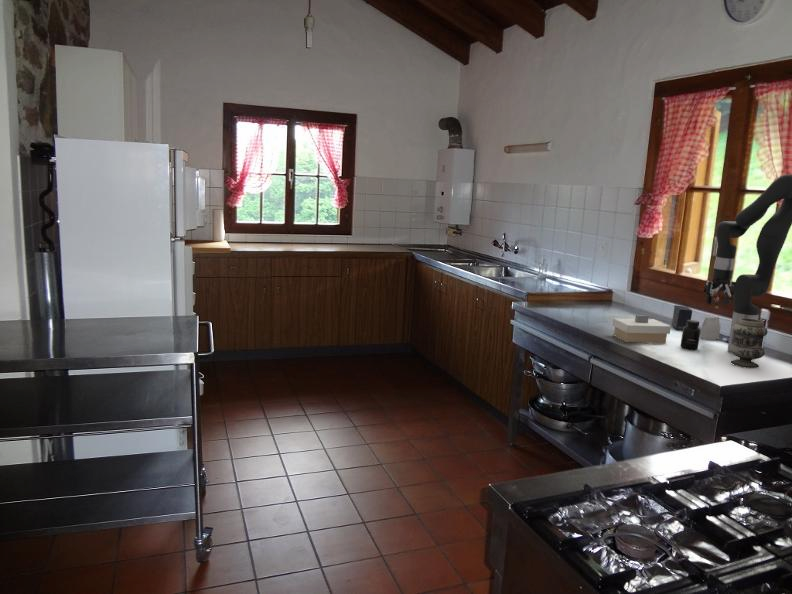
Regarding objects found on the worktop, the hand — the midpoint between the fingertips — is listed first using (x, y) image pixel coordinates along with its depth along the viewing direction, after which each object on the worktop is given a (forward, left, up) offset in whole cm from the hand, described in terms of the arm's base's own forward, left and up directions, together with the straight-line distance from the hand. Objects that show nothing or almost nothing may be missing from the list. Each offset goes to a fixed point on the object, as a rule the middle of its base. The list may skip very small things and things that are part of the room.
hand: (717, 304), depth 272 cm
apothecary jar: (-31, +6, -18) cm, 37 cm away
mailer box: (+6, +30, -18) cm, 36 cm away
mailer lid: (+6, +30, -13) cm, 34 cm away
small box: (+30, -4, -18) cm, 35 cm away
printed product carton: (+10, -6, -18) cm, 21 cm away
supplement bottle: (-8, +15, -18) cm, 25 cm away
